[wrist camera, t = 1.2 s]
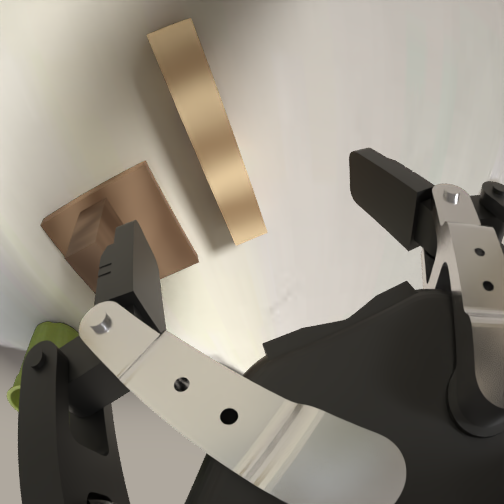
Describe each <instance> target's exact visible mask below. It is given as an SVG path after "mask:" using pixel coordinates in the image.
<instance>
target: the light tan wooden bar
mask: <svg viewBox="0 0 504 504" xmlns="http://www.w3.org/2000/svg"><path fill="white" fill-rule="evenodd" d="M147 38H148V40H149V43H150V45H151V47H152V50H153V52H154V55H155V57H156V60H157V62H158V64H159V67H160V69H161V72H162V74H163V76H164V79H165V81H166V84H167V86H168V88H169V91H170V93H171V96H172V98H173V100H174V103H175V105H176V108H177V110H178V112H179V115H180V117H181V119H182V122H183V124H184V127H185V129H186V131H187V134H188V136H189V138H190V141H191V143H192V145H193V148H194V150H195V152H196V155H197V157H198V159H199V162H200V164H201V166H202V169H203V171H204V173H205V176H206V178H207V180H208V183H209V185H210V187H211V190H212V192H213V194H214V197H215V199H216V201H217V204H218V206H219V208H220V211H221V213H222V215H223V217H224V220H225V222H226V224H227V227H228V229H229V231H230V234H231V236H232V238H233V240H234V243H235V245H236V246H237V245H239V244H241V243H244V242H246V241H249V240H251V239H253V238H256V237H258V236H261V235H263V234H265V233H267V230H266V227H265V224H264V221H263V218H262V215H261V212H260V209H259V206H258V203H257V200H256V197H255V194H254V191H253V188H252V186H251V183H250V180H249V177H248V174H247V171H246V168H245V165H244V162H243V160H242V157H241V154H240V151H239V148H238V145H237V142H236V140H235V137H234V134H233V131H232V128H231V125H230V123H229V120H228V117H227V114H226V112H225V109H224V106H223V103H222V100H221V98H220V95H219V92H218V89H217V87H216V84H215V81H214V78H213V76H212V73H211V70H210V68H209V65H208V62H207V59H206V57H205V54H204V51H203V49H202V46H201V43H200V41H199V38H198V35H197V33H196V30H195V27H194V25H193V22H192V20H191V18H189V19H186V20H183V21H180V22H177V23H175V24H172V25H169V26H167V27H164V28H162V29H159V30H157V31H154V32H152V33H150V34H147Z"/></svg>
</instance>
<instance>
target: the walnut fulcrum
mask: <svg viewBox="0 0 504 504" xmlns="http://www.w3.org/2000/svg"><path fill="white" fill-rule="evenodd" d="M134 220H137V222H138V223H139V225H140V227H141V229H142V231H143V233H144V235H145V237H146V240H147V242H148V244H149V246H150V248H151V250H152V252H153V254H154V256H155V259H156V261H157V265H158V268H159V276H160V279H161V278H164V277H166V276H168V275H171V274H173V273H175V272H177V271H180V270H182V269H184V268H187V267H189V266H191V265H193V264H196V263H198V262H199V260H198V256H197V254H196V252H195V250H194V248H193V247H192V245H191V243H190V241H189V240H188V238H187V236H186V234H185V233H184V231H183V229H182V227H181V225H180V224H179V222H178V220H177V218H176V216H175V215H174V213H173V211H172V209H171V207H170V206H169V204H168V202H167V200H166V198H165V196H164V195H163V193H162V191H161V189H160V187H159V185H158V183H157V182H156V180H155V178H154V176H153V174H152V172H151V170H150V168H149V166H148V165H147V163H146V161H143V162H141V163H139V164H137V165H135V166H133V167H132V168H130V169H128V170H126V171H124V172H122V173H120V174H118V175H116V176H114V177H113V178H111V179H109V180H107V181H105V182H103V183H102V184H100V185H98V186H96V187H95V188H93V189H91V190H89V191H88V192H86V193H84V194H83V195H81V196H79V197H77V198H76V199H74V200H73V201H71V202H69V203H68V204H66V205H64V206H63V207H61V208H60V209H58V210H56V211H55V212H53V213H52V214H50V215H49V216H47V217H46V218H44V219H43V221H42V223H41V225H40V226H41V227H42V228H43V230H44V231H45V232H46V233H47V235H48V236H49V237H50V239H51V240H52V241H53V243H54V244H55V245H56V246H57V248H58V249H59V250H60V251H61V253H62V254H63V255H64V256H65V259H66V261H67V262H68V263H69V264H70V265H71V267H72V268H73V269H74V270H75V271H76V272H77V274H78V275H79V276H80V277H81V278H82V279H83V280H84V282H85V283H86V284H87V285H88V286H89V287H90V288H91V289H92V290H93V292H94V293H95V294H96V287H97V279H98V271H99V264H100V258H101V256H102V254H103V252H104V250H105V249H106V247H107V246H108V245H111V244H113V243H114V237H115V229H116V227H118V226H121V225H123V224H126V223H128V222H131V221H134Z"/></svg>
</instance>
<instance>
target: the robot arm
mask: <svg viewBox="0 0 504 504" xmlns="http://www.w3.org/2000/svg"><path fill="white" fill-rule="evenodd" d="M349 166H350V191H351V195H352V197H353V199H354V201H355V202H356V203H357V204H358V205H359V206H360V207H361V208H362V209H364V210H365V211H366V212H367V213H368V214H369V215H370V216H371V217H373V218H374V219H375V220H376V221H377V222H378V223H379V224H380V225H381V226H382V227H383V228H385V229H386V230H387V231H388V232H389V233H390V234H391V235H392V236H393V237H394V238H395V239H396V240H397V241H398V242H399V243H401V244H402V245H403V246H404V247H405V248H406V249H407V250H408V251H410V250H412V249H414V248H416V247H419V246H421V247H422V252H421V264H422V279H423V289H419V290H415V289H414V288H413V287H412V286H411V285H410V284H409V283H408V282H407V281H405V282H403V283H401V284H399V285H397V286H395V287H393V288H391V289H389V290H387V291H385V292H383V293H381V294H379V295H377V296H375V297H374V298H373V299H372V300H371V301H369V302H368V303H367V304H366V305H364V306H363V307H362V308H361V309H360V310H358V311H357V312H356V313H355V314H353V315H352V316H351V317H349V318H348V319H346V320H342V321H337V322H332V323H327V324H322V325H316V326H311V327H305V328H301V329H299V330H296V331H294V332H291V333H289V334H286V335H283V336H281V337H278V338H276V339H273V340H270V341H268V342H265V343H262V344H263V347H264V350H265V354H266V356H264V357H263V358H261V359H260V360H258V361H257V362H256V363H255V364H254V365H252V366H251V367H250V368H249V369H248V370H247V371H246V372H245V373H244V375H243V376H241V375H239V374H238V373H236V372H234V371H232V370H231V369H229V368H227V367H225V366H224V365H222V364H220V363H218V362H217V361H215V360H213V359H212V358H210V357H208V356H207V355H205V354H203V353H202V352H200V351H199V350H197V349H195V348H194V347H192V346H190V345H189V344H187V343H186V342H184V341H183V340H181V339H179V338H178V337H176V336H175V335H173V334H172V333H170V332H168V331H166V325H165V318H164V310H163V302H162V294H161V285H160V276H159V268H158V265H157V261H156V259H155V256H154V254H153V252H152V250H151V248H150V246H149V244H148V242H147V240H146V237H145V235H144V233H143V231H142V229H141V227H140V225H139V223H138V222H137V220H134V221H131V222H128V223H126V224H123V225H121V226H118V227H116V229H115V237H114V243H113V244H111V245H108V246H107V247H106V249H105V250H104V252H103V254H102V256H101V258H100V264H99V271H98V279H97V287H96V296H95V305H94V307H92V308H91V309H90V310H89V311H88V312H87V313H86V314H85V315H84V317H83V318H82V320H81V322H80V325H79V336H77V337H76V338H74V339H73V340H71V341H70V342H68V343H67V344H65V345H64V346H62V347H61V348H58V347H57V346H56V345H55V344H54V343H53V342H51V341H48V340H45V341H41V342H39V343H37V344H36V345H34V346H33V347H32V348H31V349H30V351H29V352H28V353H27V355H26V357H25V359H24V362H23V366H22V375H21V385H20V397H19V415H18V460H19V477H20V489H21V497H22V504H130V502H129V497H128V493H127V489H126V485H125V481H124V476H123V472H122V467H121V462H120V457H119V452H118V446H117V441H116V434H115V428H114V422H113V414H112V407H111V403H112V402H113V401H115V400H117V399H118V398H120V397H121V396H123V395H124V394H126V393H128V392H129V391H131V392H133V393H134V394H135V395H136V396H137V397H138V398H139V399H140V400H141V401H142V402H143V403H145V404H146V405H147V406H148V407H149V408H151V409H152V410H153V411H154V412H155V413H156V414H157V415H158V416H160V417H161V418H162V419H163V420H164V421H166V422H167V423H168V424H169V425H170V426H172V427H173V428H174V429H176V430H177V431H178V432H179V433H181V434H182V435H183V436H184V437H186V438H187V439H188V440H190V441H191V442H192V443H194V444H195V445H196V446H198V447H199V448H200V449H202V450H203V451H204V452H206V456H205V458H204V461H203V463H202V465H201V468H200V470H199V472H198V474H197V477H196V479H195V481H194V484H193V486H192V488H191V490H190V493H189V495H188V497H187V500H186V502H185V504H504V245H503V244H502V243H501V242H502V239H503V236H504V185H502V184H500V183H497V182H491V181H488V182H485V183H483V185H482V189H481V194H480V195H475V196H469V194H468V193H467V192H466V191H465V190H464V189H462V188H460V187H458V186H455V185H452V184H438V185H436V186H435V185H433V184H432V183H430V182H429V181H427V180H426V179H424V178H423V177H421V176H420V175H418V174H416V173H415V172H412V170H410V169H408V168H407V167H406V168H405V166H404V165H402V164H400V163H399V162H397V161H395V160H392V159H389V158H387V157H385V156H383V155H382V154H380V153H378V152H376V151H375V150H373V149H371V148H365V149H361V150H357V151H353V152H351V153H350V156H349ZM69 421H70V424H69Z"/></svg>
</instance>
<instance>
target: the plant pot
mask: <svg viewBox="0 0 504 504" xmlns="http://www.w3.org/2000/svg"><path fill="white" fill-rule="evenodd" d="M77 336H79V334H78V332H77V331H76V330H74V329H73V328H72V327H70V326H68V325H66V324H63V323H51V322H44V323H41V324H39V325H38V326H37V327H36V329H35V331H34V334H33V336H32V338H31V341H30V344H29V347H28V349H27V352H26V355H27V353H28V352H29V351H30V349H31V348H32V347H33V346H34V345H36V344H37V343H39V342H41V341H45V340H48V341H51V342H53V343H54V344H55V345H56V346H57V347H58V348H61V347H62V346H64V345H65V344H67V343H68V342H70V341H71V340H73V339H74V338H76V337H77ZM26 355H25V357H26ZM25 357H24V359H25ZM23 362H24V360H23ZM22 366H23V363H22ZM22 366H21V369H20V372H19V374H18V375H17V377H16V379H15V382H14V386H13V387H12V388H10V389H9V391H8V392H7V399H8V401H9V403H10V404H11V406H12V407H13V408H14V409H15V410H17V411H18V412H19V397H20V385H21V375H22ZM69 424H70V421H69Z"/></svg>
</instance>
